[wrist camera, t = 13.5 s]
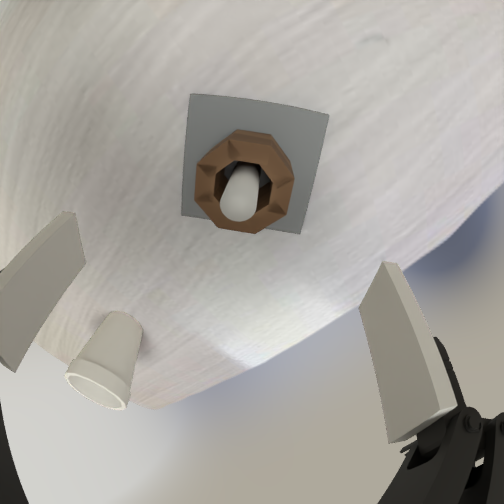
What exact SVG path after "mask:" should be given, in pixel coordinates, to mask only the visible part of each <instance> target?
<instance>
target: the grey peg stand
mask: <svg viewBox="0 0 504 504" xmlns="http://www.w3.org/2000/svg"><path fill="white" fill-rule="evenodd" d="M328 119H329V115H328V114H324V113H320V112H316V111H311V110H307V109H302V108H298V107H293V106H288V105H282V104H277V103H271V102H265V101H258V100H252V99H244V98H236V97H227V96H217V95H204V94H190V99H189V108H188V118H187V128H186V140H185V153H184V167H183V185H182V210H181V215H182V216H189V217H196V218H203V219H209V220H211V219H210V218H209V217H208V216H207V215H206V213H205V212H204V211H203V210H202V209H201V208H200V207H199V205H198V204H197V203H196V202H195V201H194V193H195V179H196V166H197V163H198V162H199V161H200V160H201V159H202V158H203V157H204V155H205V154H206V153H207V152H208V151H209V150H210V149H211V148H213V147H214V146H215V145H217V144H218V143H219V142H221V141H222V140H223V139H225V138H226V137H227V136H229V135H230V134H231V133H233V132H234V131H236V130H237V129H239V130H246V131H253V132H259V133H265V134H271V135H272V136H273V138H274V139H275V140H276V142H277V143H278V145H279V146H280V147H281V149H282V150H283V151H284V153H285V154H286V156H287V157H288V159H289V160H290V162H291V166H292V170H293V174H294V178H295V180H294V184H293V189H292V193H291V198H290V202H289V206H288V211H287V215H286V216H284V217H282V218H281V219H279V220H277V221H276V222H274V223H272V224H271V225H269V226H267V227H266V229H272V230H278V231H283V232H289V233H295V234H300V233H301V229H302V226H303V222H304V218H305V214H306V211H307V207H308V203H309V199H310V195H311V191H312V187H313V183H314V179H315V175H316V171H317V167H318V163H319V159H320V154H321V150H322V146H323V142H324V137H325V133H326V128H327V124H328ZM224 175H225V176H226V177H227V179H228V180H229V182H228V184H227V186H226V188H225V191H224V193H223V195H222V197H221V200H220V208H221V211H222V213H223V214H224V215H225V216H226V217H227V218H228V219H230V220H233V221H238V222H241V221H245V220H248V219H249V218H251V217H252V216H253V215H254V213H255V211H256V207H257V199H258V191H259V188H261V187H262V186H264V185H265V184H267V183H269V182H270V178H269V177H268V175H267V174H266V173H265V171H264V170H263V169H262V167H261V166H260V165H259V164H256V163H250V162H243V161H236V160H234V161H233V162H231V163H230V164H228V165H227V166H226V167H225V173H224Z"/></svg>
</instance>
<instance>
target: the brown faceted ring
mask: <svg viewBox="0 0 504 504" xmlns="http://www.w3.org/2000/svg"><path fill="white" fill-rule="evenodd" d="M234 160H236V161H243V162H250V163H256V164H259V165H260V166H261V167H262V169H263V170H264V171H265V173H266V174H267V175H268V177H269V178H270V182H269V183H267V184H265V185H264V186H262V187H261V188H259V191H258V199H257V207H256V211H255V213H254V215H253V216H252V217H251V218H249V219H248V220H245V221H241V222H238V221H233V220H230V219H228V218H227V217H226V216H225V215H224V214H223V213H222V211H221V208H220V200H221V197H222V195H223V193H224V191H225V188H226V186H227V184H228V182H229V180H228V179H227V177H226V176H225V175H224V173H225V167H226V166H227V165H228V164H230V163H231V162H233V161H234ZM294 180H295V178H294V174H293V170H292V166H291V162H290V160H289V159H288V157H287V156H286V154H285V153H284V151H283V150H282V149H281V147H280V146H279V145H278V143H277V142H276V140H275V139H274V138H273V136H272V135H271V134H265V133H259V132H253V131H246V130H239V129H237V130H236V131H234V132H233V133H231V134H230V135H229V136H227V137H226V138H225V139H223V140H222V141H221V142H219V143H218V144H217V145H215V146H214V147H213V148H211V149H210V150H209V151H208V152H207V153H206V154H205V155H204V157H203V158H202V159H201V160H200V161H199V162H198V163H197V166H196V179H195V193H194V201H195V202H196V203H197V204H198V205H199V207H200V208H201V209H202V210H203V211H204V212H205V213H206V215H207V216H208V217H209V218H210V219H211V220H212V221H213V223H214V224H215V225H216V226H217V227H218V228H221V229H228V230H234V231H240V232H246V233H253V234H256V233H257V232H259V231H261V230H262V229H264V228H266V227H267V226H269V225H271V224H272V223H274V222H276V221H277V220H279V219H281V218H282V217H284V216H286V215H287V211H288V206H289V202H290V198H291V193H292V189H293V184H294Z"/></svg>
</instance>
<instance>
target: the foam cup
mask: <svg viewBox="0 0 504 504" xmlns="http://www.w3.org/2000/svg"><path fill="white" fill-rule="evenodd" d="M142 334H143V329H142V327H141V325H140V323H139V322H138V321H137V320H136V319H134V318H133V317H132V316H130V315H128V314H126V313H124V312H120V311H113V312H110V314H109V315H108V316H107V317H106V319H105V320H104V321H103V322H102V324H101V325H100V326H99V328H98V329H97V330H96V332H95V333H94V334H93V336H92V337H91V338H90V340H89V341H88V342H87V344H86V345H85V346H84V348H83V349H82V350H81V352H80V353H79V355H78V356H77V357H76V359H73V360H72V362H71V363H70V365H69V367H68V370H67V371H66V374H65V378H66V380H67V382H68V383H69V384H70V385H71V386H72V387H73V388H74V389H75V390H76V391H77V392H78V393H80V394H81V395H83V396H84V397H86V398H87V399H89V400H91V401H93V402H95V403H97V404H99V405H101V406H104V407H107V408H110V409H114V410H123V409H126V407H127V404H128V401H129V398H130V395H131V393H130V388H131V383H132V378H133V374H134V369H135V364H136V360H137V356H138V351H139V347H140V343H141V339H142Z"/></svg>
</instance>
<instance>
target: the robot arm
mask: <svg viewBox="0 0 504 504" xmlns="http://www.w3.org/2000/svg"><path fill="white" fill-rule="evenodd" d="M85 264H86V260H85V256H84V252H83V248H82V243H81V239H80V234H79V229H78V224H77V219H76V213H73V212H66V211H63V212H62V213H61V214H59V215H58V216H57V217H56V218H55V219H54V220H53V221H51V222H50V223H49V224H48V225H47V226H46V227H45V228H44V229H43V230H42V231H41V232H39V233H38V234H37V235H36V236H35V237H34V238H33V239H32V240H31V241H30V242H29V243H28V244H27V245H26V246H25V247H24V248H23V249H22V250H21V251H20V252H19V253H18V254H17V255H16V256H15V257H14V259H13V260H12V261H11V262H10V263H9V264H8V265H7V266H6V267H5V268H4V269H3V270H1V271H0V362H1V363H2V364H3V365H4V366H5V367H7V368H8V369H10V370H11V371H13V372H14V373H15V372H16V370H17V368H18V366H19V365H20V363H21V361H22V359H23V357H24V356H25V354H26V352H27V350H28V348H29V347H30V345H31V343H32V342H33V340H34V338H35V337H36V335H37V333H38V332H39V330H40V328H41V327H42V325H43V324H44V322H45V321H46V319H47V317H48V316H49V314H50V313H51V311H52V310H53V308H54V307H55V305H56V304H57V302H58V301H59V299H60V298H61V297H62V295H63V294H64V292H65V291H66V290H67V288H68V287H69V285H70V284H71V283H72V281H73V280H74V279H75V277H76V276H77V275H78V273H79V272H80V271H81V269H82V268H83V267H84V265H85ZM359 311H360V315H361V318H362V322H363V326H364V329H365V333H366V337H367V341H368V345H369V348H370V353H371V357H372V361H373V365H374V369H375V374H376V378H377V383H378V387H379V392H380V397H381V402H382V407H383V413H384V418H385V424H386V430H387V437H388V443H389V444H390V443H395V442H400V441H405V440H407V439H409V438H411V437H412V436H414V435H417V440H416V441H414V442H413V443H411V444H409V445H407V446H405V447H403V448H402V450H401V451H400V453H403V452H405V451H407V450H409V449H410V450H409V452H407V453H406V454H405V456H406V458H405V460H404V461H403V463H402V465H401V467H400V469H399V471H398V472H397V474H396V476H395V477H394V479H393V480H392V482H391V484H390V485H389V487H388V489H387V490H386V492H385V493H384V495H383V496H382V498H381V499H380V501H379V502H378V504H504V412H503V413H500V414H499V415H498V416H496V417H495V418H494V419H486V418H481V416H480V414H479V412H478V411H477V410H476V409H474V408H472V407H466V404H465V402H464V399H463V395H462V392H461V389H460V387H459V383H458V380H457V378H456V375H455V372H454V371H453V367H452V364H451V362H450V361H449V357H448V354H447V352H446V349H445V347H444V346H443V344H442V343H441V342H440V341H439V339H438V338H437V337H433V336H432V333H431V331H430V329H429V327H428V325H427V322H426V320H425V318H424V316H423V313H422V311H421V309H420V307H419V305H418V303H417V301H416V299H415V297H414V294H413V292H412V290H411V288H410V286H409V285H408V283H407V281H406V279H405V277H404V275H403V273H402V271H401V269H400V267H399V266H398V264H397V263H392V262H386V261H382V263H381V265H380V267H379V269H378V272H377V274H376V276H375V278H374V279H373V281H372V283H371V285H370V287H369V289H368V291H367V293H366V295H365V297H364V299H363V300H362V302H361V304H360V306H359ZM483 457H484V462H483V464H482V465H480V466H478V467H475V461H477V460H479V459H481V458H483ZM0 504H29V503H28V500H27V498H26V496H25V493H24V490H23V488H22V485H21V483H20V480H19V477H18V475H17V471H16V468H15V465H14V462H13V458H12V455H11V451H10V447H9V443H8V439H7V435H6V430H5V426H4V421H3V416H2V410H1V403H0Z"/></svg>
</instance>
